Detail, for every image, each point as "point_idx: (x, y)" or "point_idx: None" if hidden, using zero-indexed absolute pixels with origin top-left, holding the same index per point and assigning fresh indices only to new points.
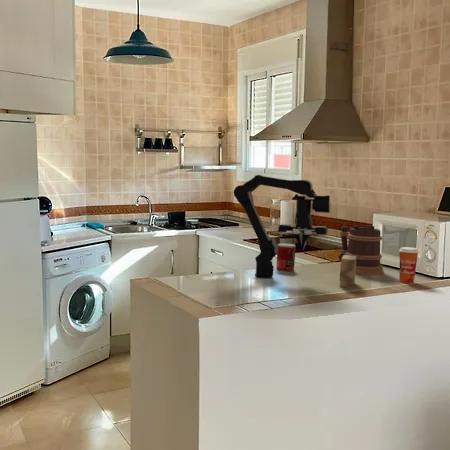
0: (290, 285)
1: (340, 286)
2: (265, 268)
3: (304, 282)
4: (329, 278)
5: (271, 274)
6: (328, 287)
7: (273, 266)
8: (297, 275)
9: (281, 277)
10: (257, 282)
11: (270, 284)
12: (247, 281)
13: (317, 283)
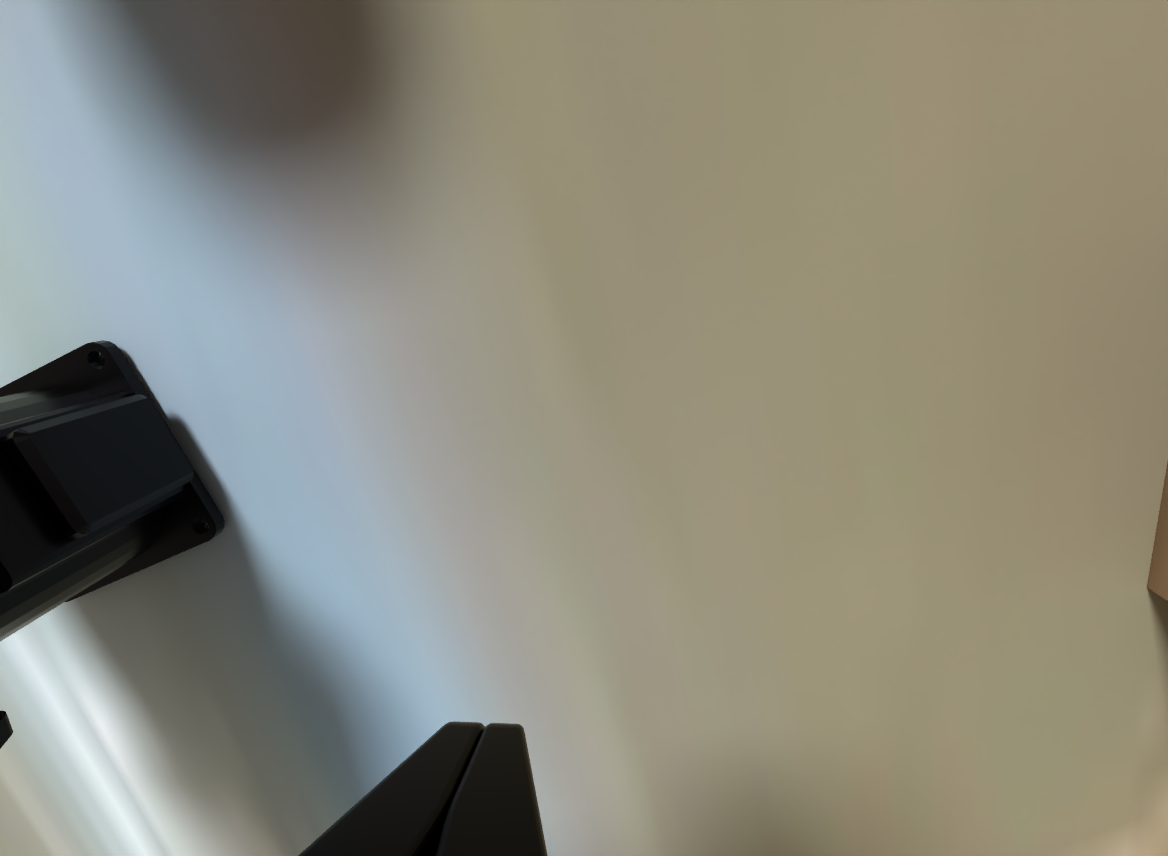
0: (547, 780)
1: (1162, 591)
2: (39, 615)
3: (659, 549)
4: (992, 17)
5: (169, 501)
6: (993, 688)
7: (89, 527)
8: (442, 79)
9: (296, 386)
10: (194, 795)
11: None
12: (90, 796)
13: (833, 525)
